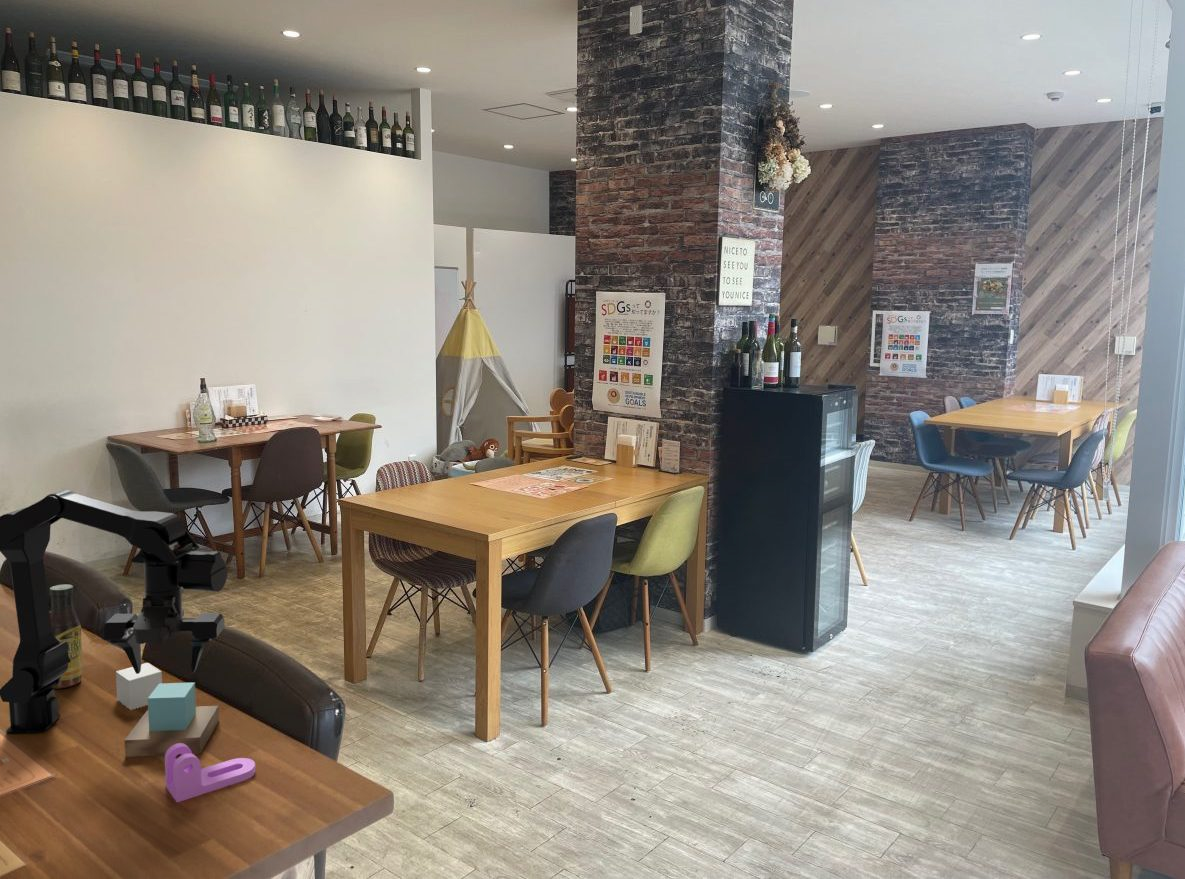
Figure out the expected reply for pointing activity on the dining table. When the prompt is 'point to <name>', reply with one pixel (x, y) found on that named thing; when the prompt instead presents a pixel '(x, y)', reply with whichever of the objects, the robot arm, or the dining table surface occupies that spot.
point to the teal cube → (171, 706)
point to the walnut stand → (172, 734)
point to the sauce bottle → (67, 632)
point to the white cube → (137, 685)
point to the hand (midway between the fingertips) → (166, 672)
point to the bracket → (201, 773)
